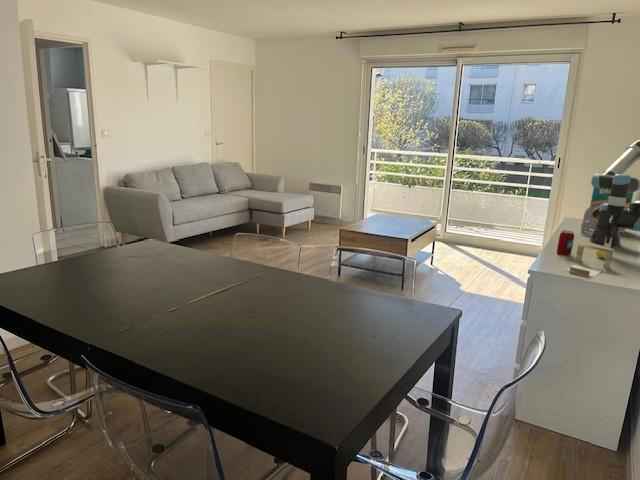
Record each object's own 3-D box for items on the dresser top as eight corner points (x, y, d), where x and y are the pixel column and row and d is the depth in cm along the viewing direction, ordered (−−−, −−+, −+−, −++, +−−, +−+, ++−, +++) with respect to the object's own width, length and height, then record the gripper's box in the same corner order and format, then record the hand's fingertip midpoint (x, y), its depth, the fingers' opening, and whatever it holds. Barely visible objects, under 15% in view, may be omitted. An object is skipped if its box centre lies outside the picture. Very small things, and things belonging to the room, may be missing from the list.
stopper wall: (569, 271, 222) (570, 266, 221) (589, 276, 217) (590, 270, 216) (568, 272, 221) (569, 267, 220) (588, 277, 216) (589, 271, 215)
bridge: (576, 260, 240) (580, 242, 238) (609, 267, 231) (613, 249, 229) (574, 261, 238) (578, 243, 236) (607, 269, 229) (611, 250, 226)
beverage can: (570, 256, 246) (574, 234, 243) (555, 254, 250) (559, 231, 246) (571, 254, 252) (575, 231, 249) (557, 251, 255) (561, 229, 252)
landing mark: (573, 265, 232) (573, 264, 232) (601, 271, 225) (601, 271, 225) (565, 270, 224) (565, 269, 224) (594, 277, 216) (594, 276, 216)
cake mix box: (586, 227, 318) (594, 181, 310) (586, 225, 323) (595, 180, 315) (624, 232, 307) (634, 185, 299) (624, 230, 312) (634, 184, 304)
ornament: (589, 229, 312) (594, 204, 307) (612, 233, 303) (617, 207, 299) (578, 234, 296) (583, 207, 292) (602, 239, 287) (608, 211, 283)
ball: (596, 255, 251) (598, 245, 250) (608, 258, 247) (610, 247, 246) (593, 257, 247) (595, 247, 246) (605, 260, 243) (608, 249, 242)
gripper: (611, 202, 254) (601, 245, 260) (604, 204, 245) (595, 249, 251) (627, 204, 249) (617, 248, 255) (621, 207, 240) (611, 252, 246)
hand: (606, 249), depth 253 cm, fingers closed
